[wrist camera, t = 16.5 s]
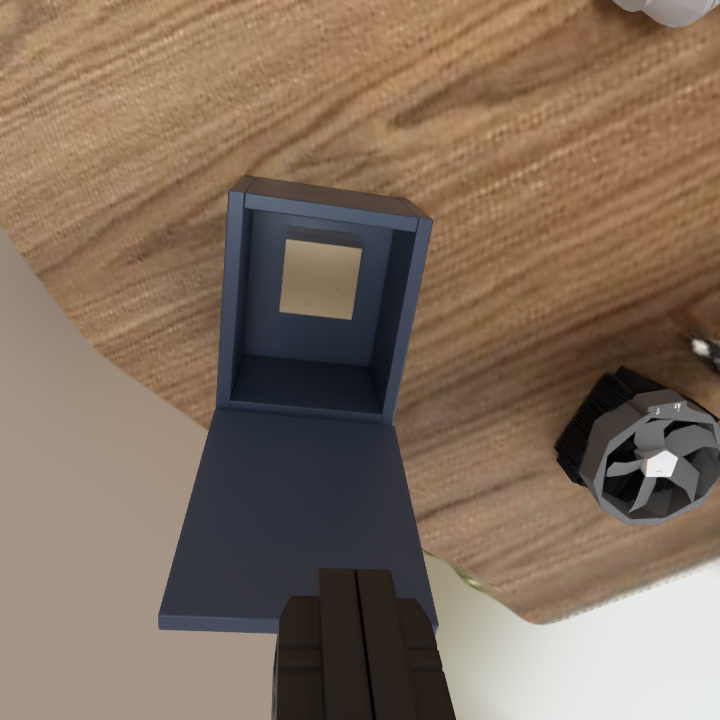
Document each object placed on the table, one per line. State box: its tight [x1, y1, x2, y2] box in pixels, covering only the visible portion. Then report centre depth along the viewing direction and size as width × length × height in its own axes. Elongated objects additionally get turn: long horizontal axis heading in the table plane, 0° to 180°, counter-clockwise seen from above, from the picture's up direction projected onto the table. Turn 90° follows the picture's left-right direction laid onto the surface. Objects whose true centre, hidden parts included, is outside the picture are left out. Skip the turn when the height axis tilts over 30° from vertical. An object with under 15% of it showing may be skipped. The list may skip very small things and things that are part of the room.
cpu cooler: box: [554, 366, 720, 525], centre depth 43 cm, size 10×6×10 cm
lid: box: [158, 410, 439, 636], centre depth 27 cm, size 14×11×1 cm
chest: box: [216, 175, 433, 426], centre depth 35 cm, size 13×11×8 cm
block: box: [279, 225, 362, 320], centre depth 35 cm, size 4×4×4 cm
